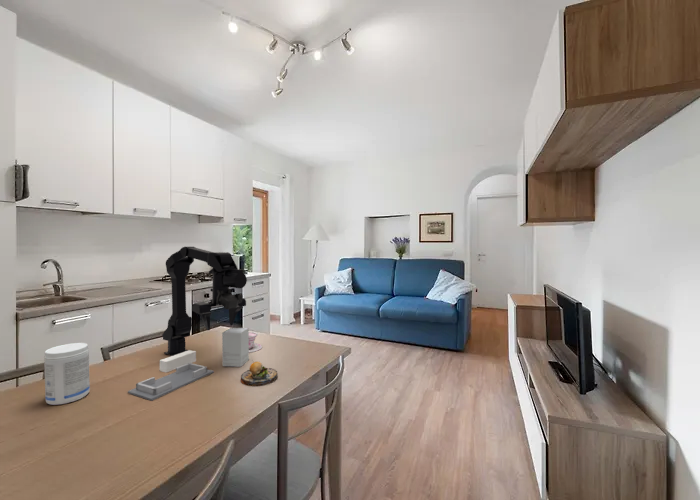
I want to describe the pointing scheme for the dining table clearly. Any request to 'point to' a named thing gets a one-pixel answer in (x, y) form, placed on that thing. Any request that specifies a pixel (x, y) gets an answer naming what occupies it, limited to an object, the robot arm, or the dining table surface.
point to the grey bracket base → (170, 381)
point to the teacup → (251, 342)
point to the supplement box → (235, 347)
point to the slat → (177, 361)
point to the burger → (258, 375)
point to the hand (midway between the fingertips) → (220, 327)
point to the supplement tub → (66, 373)
